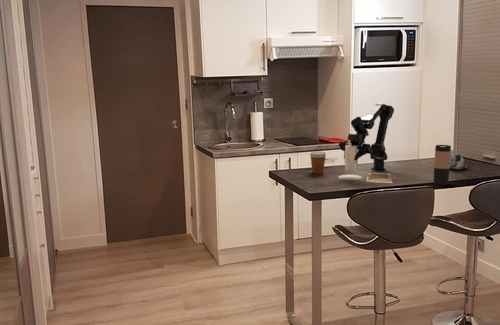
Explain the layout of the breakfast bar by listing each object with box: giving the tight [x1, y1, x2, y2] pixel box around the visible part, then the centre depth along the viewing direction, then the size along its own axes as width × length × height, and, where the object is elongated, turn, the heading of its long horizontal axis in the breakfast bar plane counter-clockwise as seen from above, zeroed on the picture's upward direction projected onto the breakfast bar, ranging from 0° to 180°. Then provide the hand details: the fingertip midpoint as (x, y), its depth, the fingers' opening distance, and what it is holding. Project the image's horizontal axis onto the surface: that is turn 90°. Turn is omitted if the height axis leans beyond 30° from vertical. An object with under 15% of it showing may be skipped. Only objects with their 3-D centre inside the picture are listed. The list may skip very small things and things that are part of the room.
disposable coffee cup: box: [309, 151, 327, 175], centre depth 278 cm, size 10×10×12 cm
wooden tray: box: [366, 172, 393, 184], centre depth 254 cm, size 13×13×4 cm
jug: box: [344, 144, 358, 173], centre depth 259 cm, size 8×6×14 cm
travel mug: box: [433, 144, 452, 186], centre depth 246 cm, size 8×8×20 cm
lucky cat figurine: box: [450, 149, 467, 171], centre depth 286 cm, size 15×12×14 cm
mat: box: [337, 174, 363, 181], centre depth 262 cm, size 13×13×1 cm
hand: (349, 159), depth 259 cm, fingers closed on jug, 6 cm apart
